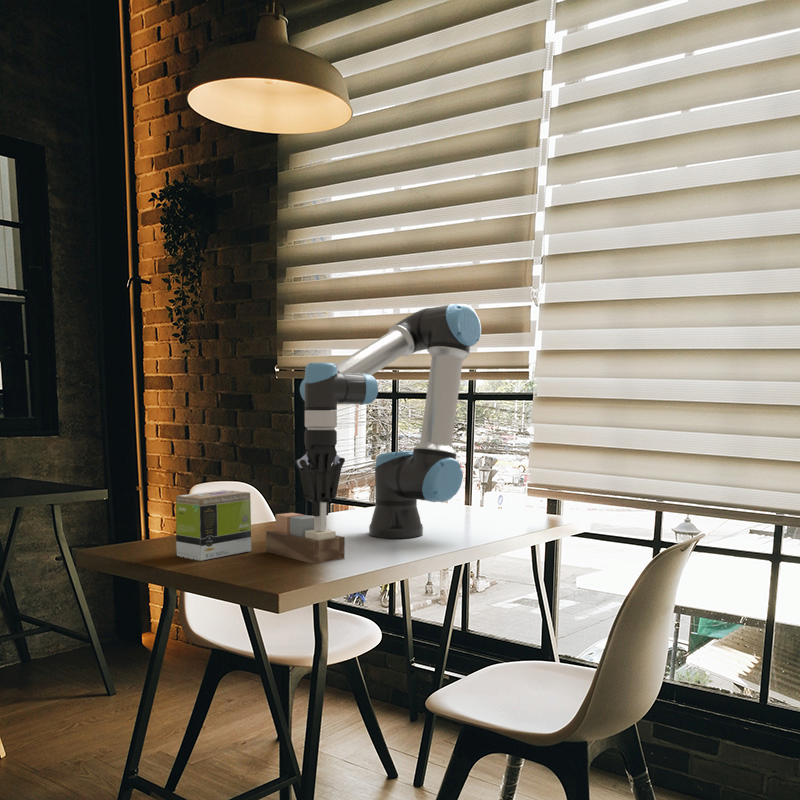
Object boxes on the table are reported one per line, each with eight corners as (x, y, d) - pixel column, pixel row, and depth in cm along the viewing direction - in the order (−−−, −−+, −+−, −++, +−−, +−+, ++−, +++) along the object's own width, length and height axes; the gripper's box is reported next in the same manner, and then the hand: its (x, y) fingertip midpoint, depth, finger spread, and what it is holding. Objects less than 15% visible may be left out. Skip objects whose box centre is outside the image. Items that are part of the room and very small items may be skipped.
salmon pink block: (292, 535, 182) (292, 512, 182) (303, 537, 178) (304, 514, 178) (275, 537, 178) (275, 514, 178) (286, 539, 174) (286, 516, 175)
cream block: (322, 552, 172) (322, 528, 172) (335, 555, 169) (335, 531, 169) (305, 555, 169) (305, 531, 169) (317, 558, 165) (318, 533, 165)
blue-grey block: (307, 538, 177) (307, 515, 177) (319, 540, 173) (319, 517, 173) (289, 540, 174) (290, 517, 174) (301, 543, 170) (302, 519, 170)
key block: (296, 547, 183) (297, 527, 184) (344, 558, 169) (344, 537, 169) (266, 551, 177) (266, 531, 177) (313, 563, 163) (313, 541, 163)
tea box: (226, 547, 183) (226, 488, 183) (252, 552, 177) (252, 491, 177) (174, 556, 172) (175, 493, 172) (200, 562, 165) (200, 497, 165)
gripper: (333, 428, 176) (332, 525, 176) (288, 428, 168) (287, 531, 167) (352, 428, 171) (352, 529, 170) (307, 429, 162) (306, 535, 162)
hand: (320, 530), depth 169 cm, fingers closed
